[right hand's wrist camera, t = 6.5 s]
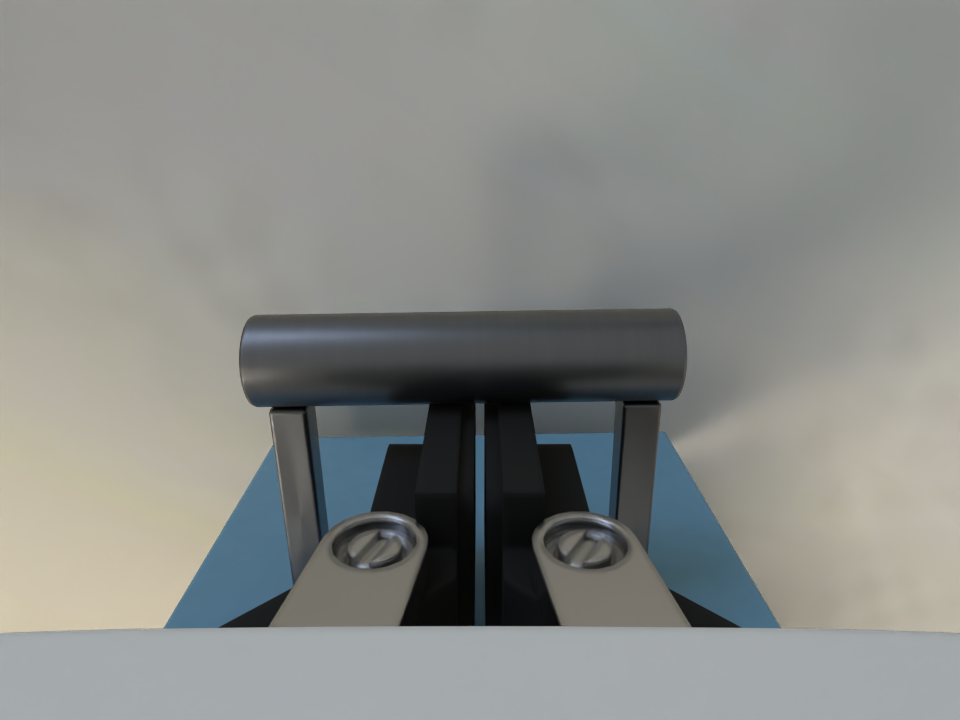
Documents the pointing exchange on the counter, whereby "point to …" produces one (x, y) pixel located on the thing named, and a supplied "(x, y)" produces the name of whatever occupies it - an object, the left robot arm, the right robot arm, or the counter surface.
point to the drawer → (476, 379)
